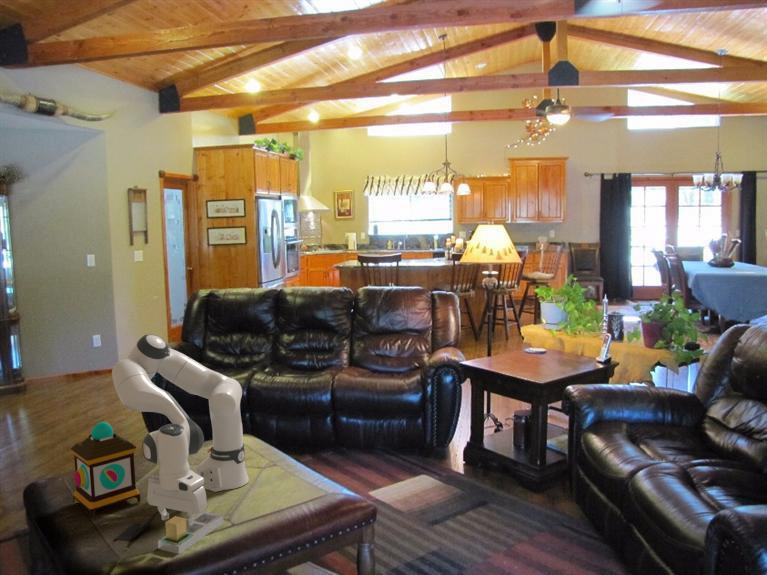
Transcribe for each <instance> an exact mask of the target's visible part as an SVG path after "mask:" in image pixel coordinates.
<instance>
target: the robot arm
mask: <svg viewBox="0 0 767 575" xmlns="http://www.w3.org/2000/svg"><path fill="white" fill-rule="evenodd" d="M156 373H157V374H159V375H161V377H163V378H164V379H166V380H167V381H169V382H170V383H171V384H174V385H175V386H177V387H179V388H180V389H182V390H184V391H185V392H187V393H188V394H191V395H197V396H199V397H201V398H204V399H208V406H209V415H210V416H209V418H210V421H211V428H212V446H211V447H210V448H209V449H207V453H209V456H208V457H207V458H205V459H204V460H203V461H201V463H200V464H198V465H197V468H196V472H195V471H193V470H192V469H191V468H190V466H191V465H190V463H189V456H191V455H197V454H198V452H200V450H201V448H202V447H203V444H204V442H205V436H204V433H203V430H202V428H201V427H200V426H199V425H198V424H197V423H196V422H195V421H194V420H192V419H191V417H189V415H188V414H187V413H186V411H185V410H184V409H183V407H182V406H181V405H180V404H179V403H178V401H177V400H176V399H175V398H174V397H173V396H172V395H171V393H170V392H168V391H167V390H164V389H162V388H160V387H158V386H157V385H156V384H155V383H154V382H152V379H153V377H154V376H155V375H156ZM111 376H112V382H113V385H114V388H115V391H116V394H117V396H118V398H119V399H120V402H121V404H123V407H125V408H127V409H128V410H131V411H134V412H139V413H142V412H143V413H144V412H146V413H147V412H149V413H156V414H161V415H164V416H166V417H167V419H168V420H169V421H170V422H171V423H168V424H167V423H166V424H165V425H162V426H161V427H160V428H159V429H158V430H154V431H152V432H149V433H147V434H146V435H145V436H144V438H143V440H142V445H141V446H142V455H143V458H144V459H145V460H146V461H148V462H150V463H152V464H155V465H156V464H158V465H159V468H158V473H159V474H158V475H156V474H152V475H150V476H149V477H148V483H147V484H148V486H147V497H146V498H147V499H146V500H147V503H148V505H149V506H154V507H157V510H158V513H159V514H160V515H161V520H162V521H165V522H167V521H168V520H170V513H169V512H167V509H168V510H174V511H179V512H184V513H187V515H188V518H186V525H189V526H191V525H193V523H194V517H196V516H197V515H199V514H200V513H202V512H205V510H206V509H207V507H208V503H207V494H206V492H207V491H206V490H208V491H210V492H215V493H217V492H221V491H226V490H228V491H229V490H234V489H237V488H240V487H243V486H245V485H247V483H249V481H250V479H249V476H248V472H247V467H246V463H245V456H246V455H245V444H244V440H243V439H244V436H243V432H244V431H243V423H242V422H243V421H242V416H241V400H242V396H243V388H242V386H241V384H240V382H239V381H238V380H236V379H235V378H232V377H230V376H229V377H228V376H227V375H224V374H222V373H221V372H218V371H215V370H212V369H210V368H208V367H207V366H204V365H203V364H201V363H200V362H198V361H196V360H194V359H193V358H191V357H190V356H187V355H186V354H184V353H182V352H180V351H178V350H175V349H173V348H171V347H170V348H169V345H168V344H167V341H165V340H164V339H163V338H162V337H160V336H158V335H156V334H151V333H150V334H144V335H143V336H142V337H141V338H139V340H138V341H137V342H136V344H135V346H134V347H133V348H132V350H130V353H129V354H128V357H127V358H123V359H121V360H119V361H117V362H116V363H115V364H114V365H113V367H112V369H111Z"/></svg>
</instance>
